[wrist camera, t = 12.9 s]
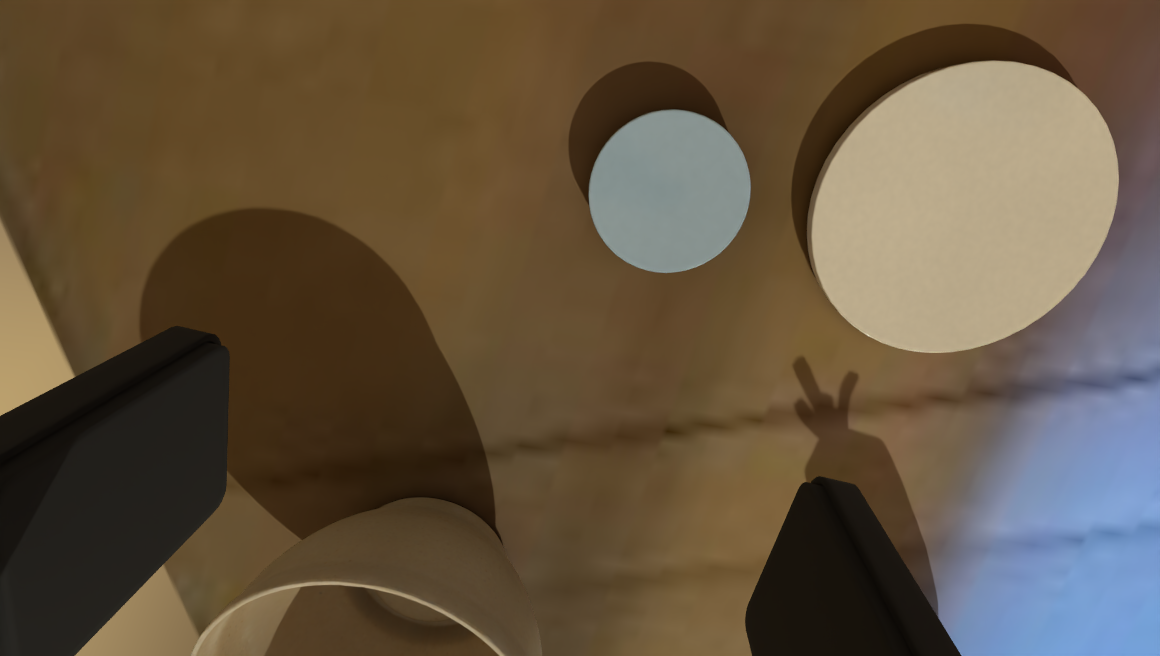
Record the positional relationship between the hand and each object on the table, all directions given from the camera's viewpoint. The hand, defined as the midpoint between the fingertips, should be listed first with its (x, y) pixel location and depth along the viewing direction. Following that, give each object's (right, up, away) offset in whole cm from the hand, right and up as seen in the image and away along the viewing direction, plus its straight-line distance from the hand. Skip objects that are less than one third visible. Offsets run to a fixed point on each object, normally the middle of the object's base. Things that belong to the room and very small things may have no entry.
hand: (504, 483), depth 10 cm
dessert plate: (+18, +8, +19) cm, 27 cm away
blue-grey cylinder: (+5, +9, +19) cm, 22 cm away
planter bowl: (-8, -11, +28) cm, 31 cm away
